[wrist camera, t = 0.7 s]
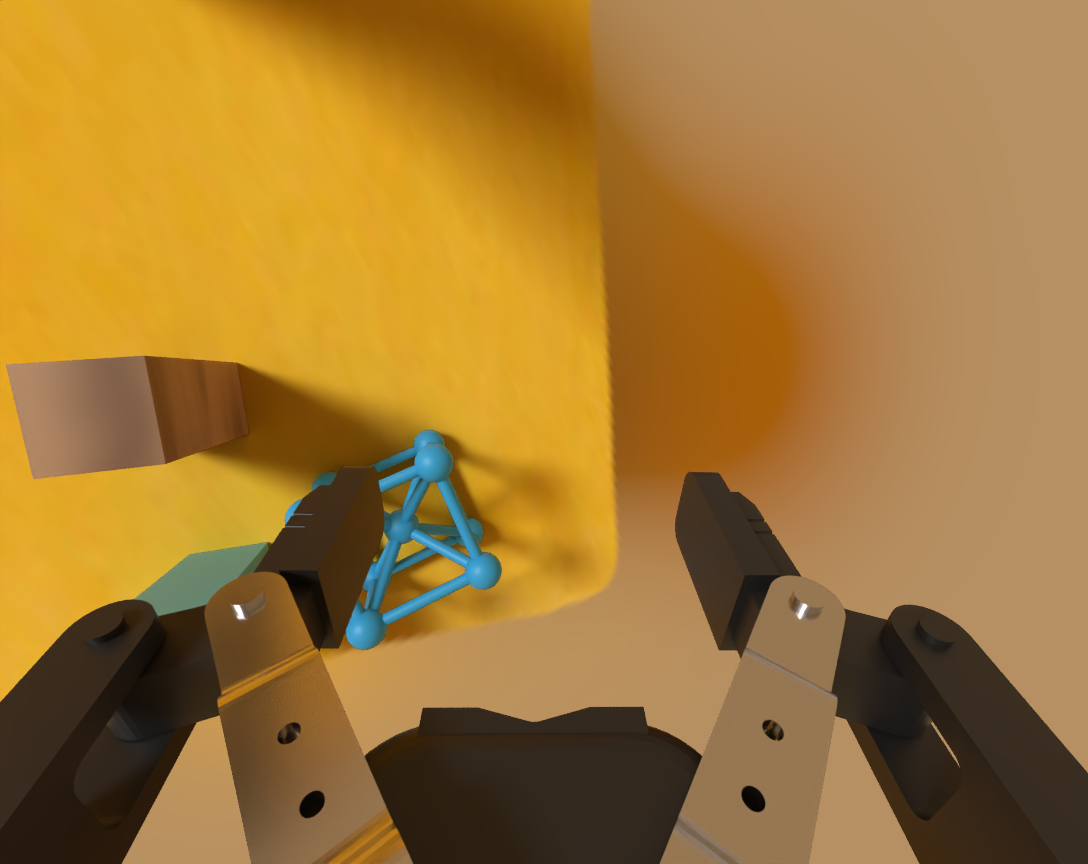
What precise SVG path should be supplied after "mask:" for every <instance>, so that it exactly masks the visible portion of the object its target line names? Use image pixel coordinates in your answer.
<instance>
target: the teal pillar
mask: <svg viewBox="0 0 1088 864" xmlns="http://www.w3.org/2000/svg"><path fill="white" fill-rule="evenodd" d="M268 550H269V545H268V542H266V543H259V544H253V545H247V546H240V547H234V548H228V549H221V550H215V551H209V552H202V553H196V554H190V555H188V556H187V557H186V558H185V559H183V560H182V561H181V562H180V563H178V564H177V565H176V566H175V567H173V568H172V569H171V570H170V571H168V572H167V573H166V574H165V575H164V576H162V577H161V578H160V579H159V580H157V581H156V582H155V583H154V584H152V585H151V586H150V587H149V588H147V589H146V590H145V591H144V592H142V593H141V594H140V595H139V596H138V597H136V598H135V599H134V600H143V601H146V602H148V603H150V604H151V605H152V606H153V608H154V610H155V611H156V613H157V615H158V616H161V615H165V614H169V613H174V612H178V611H182V610H186V609H191V608H195V607H199V606H203V605H206V604H207V603H208V601H209V600H210V599H211V597H212V596H213V595H214V594H215V593H216V592H217V591H218V590H219V589H220V588H222V587H223V586H224V585H226V584H227V583H229V582H231V581H232V580H234V579H237V578H239V577H241V576H244V575H247V574H251V573H253V572H254V571H255V569H256V568H257V566H258V565H259V563H260V562H261V560H262V559H263V557H264V556H265V554H266V553H267V551H268Z"/></svg>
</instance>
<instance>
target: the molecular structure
mask: <svg viewBox="0 0 1088 864" xmlns="http://www.w3.org/2000/svg"><path fill="white" fill-rule="evenodd" d="M415 456H416V457H415ZM413 457H415V461H414V464H415V465H413V466H411V467H409V468H407V469H404V470H402V471H400V472H397V473H395V474H393V475H391V476H388V477H386V478H384V479H381V480H379V485H380V491H381V493H382V492H385V491H387V490H389V489H391V488H394V487H396V486H398V485H401V484H403V483H405V482H407V481H410V480H412V482H411V485H410V487H409V490H408V493H407V496H406V499H405V502H404V505H403V508H402V510H396V511H394V512H392V513H391V514H389V513H387V512H385V511H384V533H385V535H386V537H387V538H388V539H389V541H388V543H387V545H386V547H385V549H384V551H383V553H382V555H381V557H380V559H379V561H378V562H372V564H371V567H370V570H369V572H368V575H367V577H366V580H365V582H364V585H363V587H362V588H363V589H364V590H365V591H367V592H368V593H367V598H366V603H365V608H363V606H362V605H361V603H360V601H359V599H358V600H357V603H356V605H355V608H354V611H353V613H352V617H351V619H350V621H349V623H348V626H347V628H346V637H347V639H348V642H349V643H350V644H351V645H352V646H353V647H355V648H356V649H360V650H368V649H371V648H374V647H375V646H377V645H378V644H379V643H380V642H381V641H382V640H383V638H384V636H385V635H386V630H387V625H389V624H391V623H393V622H395V621H397V620H399V619H401V618H403V617H405V616H407V615H409V614H411V613H413V612H415V611H417V610H419V609H421V608H423V607H425V606H427V605H429V604H431V603H433V602H435V601H437V600H439V599H441V598H443V597H445V596H447V595H449V594H451V593H453V592H455V591H457V590H459V589H461V588H463V587H465V586H467V585H469V584H470V585H471V586H472V587H474V588H476V589H480V590H486V589H489V588H491V587H493V586H495V584H496V583H497V582H498V581H499V579H500V577H501V572H502V569H501V564H500V561H499V560H498V558H497V557H496V556H494V555H493V554H491V553H488V552H482V551H481V548H480V546H479V543H480V542H481V541H482V538H483V535H484V529H483V526H482V524H481V523H480V522H479V521H478V520H476V519H474V518H467V515H466V513H465V511H464V509H463V506H462V504H461V502H460V500H459V498H458V495H457V493H456V491H455V489H454V486H453V484H452V482H451V480H450V478H449V475H450V473H451V472H452V470H453V466H454V459H453V456H452V454H451V452H450V451H449V450H448V449H447V448H446V447H445V441H444V438H443V437H442V435H441V434H440V433H438V432H436V431H434V430H425V431H422V432H421V433H419V434H418V435H417V436H416V438H415V440H414V447H412V448H409V449H407V450H405V451H402V452H400V453H398V454H395V455H393V456H391V457H388V458H386V459H384V460H381V461H379V462H377V463H374V464H372V465H370V466H374V467H375V468H376V470H377V473H378V472H381V471H383V470H385V469H387V468H390V467H392V466H394V465H397V464H399V463H401V462H404V461H406V460H408V459H411V458H413ZM336 475H337V473H335V472H326V473H323V474H321V475H319V476H318V477H317V478H316V479H315V481H314V482H313V486H312V491H313V490H314V489H316V488H317V487H318V486H320V485H331V483H332V482H333V480H334V478H335V477H336ZM431 482H436V483H437V485H438V487H439V489H440V491H441V494H442V496H443V498H444V500H445V502H446V504H447V507H448V509H449V511H450V513H451V515H452V518H453V520H454V522H455V524H456V527H455V526H445V525H435V524H425V523H419V521H418V519H417V517H416V516H415V512H416V510H417V508H418V506H419V504H420V502H421V500H422V499H423V497H424V495H425V493H426V491H427V489H428V487H429V485H430V483H431ZM301 501H302V499H301V500H298V501H297V502H295V503H294V504H293V505H291V506H290V507H289V509H288V511H287V513H286V516H285V525H286V523H287V522H288V520H289V519H290V517H291V516H293V514H294V511H295V510H296V508H297V507H298V505H299V504H300V502H301ZM428 534H432V535H445V536H450V537H448V538H446V539H444V540H442V541H439V540H438V539H436V538H434V537H432V536H430V535H428ZM411 540H415V541H417V542H419V543H421V544H423V545H425V546H426V547H427V548H425V549H423V550H421V551H419V552H417V553H415V554H412V555H410V556H408V557H406V558H404V559H402V560H400V561H398V562H396V559H397V556H398V553H399V550H400V547H401V544H405V543H408V542H410V541H411ZM457 543H459V544H460V545H461V546H463V547H466V548H467V550H468V552H469V555H470V557H469V556H468V555H466V554H464V553H462V552H460V551H458V550H456V549H454V548H453V547H451V546H453V545H455V544H457ZM436 553H439V554H441V555H443V556H445V557H447V558H448V559H450V560H452V561H454V562H456V563H458V564H459V565H461V566H463V567H465V574H463V575H461V576H459V577H457V578H455V579H453V580H451V581H449V582H447V583H445V584H442V585H440V586H438V587H436V588H434V589H432V590H430V591H428V592H426V593H424V594H422V595H420V596H418V597H416V598H414V599H412V600H410V601H408V602H406V603H404V604H402V605H400V606H398V607H396V608H394V609H392V610H390V611H388V612H386V613H384V614H382V613H381V612H379V610H380V607H381V604H382V601H383V598H384V595H385V592H386V589H387V587H388V586H389V584H390V582H391V578H392V575H393V574H395V573H397V572H399V571H401V570H403V569H405V568H407V567H409V566H411V565H413V564H416V563H418V562H420V561H422V560H424V559H426V558H428V557H430V556H432V555H434V554H436ZM395 562H396V563H395Z"/></svg>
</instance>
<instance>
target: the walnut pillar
mask: <svg viewBox="0 0 1088 864" xmlns="http://www.w3.org/2000/svg"><path fill="white" fill-rule="evenodd" d="M6 367H7V371H8V375H9V380H10V384H11V388H12V392H13V396H14V400H15V405H16V409H17V413H18V417H19V421H20V426H21V430H22V434H23V438H24V442H25V447H26V451H27V455H28V459H29V463H30V467H31V472H32V476H33V479H39V478H48V477H56V476H65V475H74V474H82V473H91V472H100V471H109V470H117V469H126V468H135V467H144V466H152V465H161V464H167V463H170V462H172V461H175V460H178V459H181V458H184V457H186V456H189V455H192V454H195V453H197V452H200V451H203V450H206V449H209V448H211V447H214V446H217V445H220V444H222V443H225V442H228V441H231V440H234V439H236V438H239V437H242V436H245V435H247V434H249V430H248V424H247V418H246V413H245V407H244V401H243V395H242V389H241V383H240V378H239V372H238V366H237V363H233V362H220V361H206V360H193V359H180V358H166V357H153V356H134V357H118V358H103V359H87V360H72V361H56V362H40V363H25V364H9V365H6Z"/></svg>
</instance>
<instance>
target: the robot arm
mask: <svg viewBox="0 0 1088 864" xmlns="http://www.w3.org/2000/svg"><path fill="white" fill-rule="evenodd" d="M383 531H384V509H383V503H382V497H381V491H380V485H379V479H378V474H377V470H376V468H375V467H374V466H342V467H341V469H340V470H339V472H338V473H337V475H336V477H335V478H334V480H333V482H332V483H331V485H320V486H318V487H317V488H316V489H314V490H313V491H312V492H310V493H309V494H308V495H306V496H305V497H304V498H303V499H302V501H301V502H300V504H299V505H298V507H297V508H296V510H295V511H294V514H293V516H291V517H290V519H289V520H288V522H287V523H286V525H285V528H283V529H282V530H281V532H280V533H279V535H278V536H277V538H276V539H275V541H274V542H273V544H272V545H271V547H270V548H269V550H268V551H267V553H266V554H265V556H264V557H263V559H262V560H261V562H260V563H259V565H258V566H257V568H256V569H255V571H254V572H253V573H251V574H247V575H244V576H241V577H239V578H237V579H234V580H232V581H231V582H229V583H227V584H226V585H224V586H223V587H222V588H220V589H219V590H218V591H217V592H216V593H215V594H214V595H213V596H212V597H211V599H210V600H209V601H208V603H207V604H206V605H203V606H199V607H195V608H191V609H186V610H182V611H178V612H174V613H169V614H165V615H161V616H158V615H157V613H156V611H155V610H154V608H153V606H152V605H151V604H150V603H148V602H146V601H143V600H134V599H132V600H123V601H118V602H115V603H111V604H108V605H106V606H103V607H100V608H98V609H96V610H94V611H92V612H90V613H89V614H87V615H85V616H83V617H82V618H80V619H79V620H78V621H76V622H75V623H74V624H72V625H71V626H70V627H69V628H68V629H67V630H66V631H65V632H64V633H63V634H62V635H61V636H60V637H59V638H58V639H57V640H56V641H55V643H54V644H53V645H52V646H51V647H50V648H49V649H48V650H47V651H46V652H45V654H44V655H43V656H42V657H41V658H40V659H39V660H38V661H37V662H36V663H35V665H34V666H33V667H32V668H31V669H30V670H29V671H28V672H27V673H26V674H25V676H24V677H23V678H22V679H21V680H20V681H19V682H18V683H17V684H16V685H15V687H14V688H13V689H12V690H11V691H10V692H9V693H8V694H7V695H6V696H5V698H4V699H3V700H2V701H1V702H0V864H122V862H123V860H124V858H125V856H126V854H127V853H128V851H129V849H130V847H131V845H132V843H133V841H134V839H135V838H136V836H137V834H138V832H139V830H140V828H141V826H142V824H143V822H144V821H145V818H146V817H147V815H148V813H149V811H150V809H151V807H152V805H153V804H154V802H155V800H156V798H157V796H158V794H159V792H160V790H161V789H162V786H163V785H164V783H165V781H166V779H167V777H168V775H169V773H170V772H171V770H172V768H173V766H174V764H175V762H176V760H177V758H178V756H179V755H180V753H181V751H182V748H183V747H184V745H185V743H186V741H187V739H188V738H189V736H190V734H191V732H192V730H193V728H194V726H195V724H196V723H197V722H199V721H202V720H206V719H209V718H212V717H216V716H219V715H220V718H221V723H222V728H223V732H224V737H225V742H226V747H227V751H228V756H229V761H230V765H231V770H232V775H233V780H234V784H235V789H236V794H237V798H238V803H239V808H240V812H241V817H242V822H243V827H244V831H245V836H246V841H247V845H248V850H249V855H250V859H251V864H809V859H810V853H811V848H812V842H813V836H814V831H815V825H816V820H817V814H818V809H819V803H820V798H821V792H822V786H823V781H824V775H825V770H826V764H827V759H828V753H829V747H830V742H831V737H832V731H833V725H834V720H835V716H837V717H840V718H844V719H847V721H848V723H849V725H850V727H851V729H852V731H853V733H854V735H855V737H856V739H857V741H858V743H859V745H860V747H861V749H862V751H863V753H864V755H865V757H866V759H867V761H868V763H869V765H870V767H871V769H872V771H873V773H874V775H875V777H876V779H877V781H878V782H879V784H880V786H881V788H882V790H883V792H884V794H885V796H886V798H887V800H888V802H889V804H890V806H891V808H892V810H893V812H894V814H895V816H896V818H897V820H898V822H899V824H900V826H901V828H902V830H903V832H904V834H905V835H906V838H907V840H908V842H909V844H910V846H911V848H912V850H913V852H914V854H915V856H916V857H917V860H918V861H919V863H920V864H1088V773H1087V772H1086V770H1085V769H1084V768H1083V767H1082V766H1081V765H1080V763H1079V762H1078V761H1077V760H1076V759H1075V758H1074V757H1073V755H1072V754H1071V753H1070V752H1069V751H1068V750H1067V748H1066V747H1065V746H1064V745H1063V744H1062V742H1061V741H1060V740H1059V739H1058V738H1057V737H1056V736H1055V734H1054V733H1053V732H1052V731H1051V730H1050V729H1049V727H1048V726H1047V725H1046V724H1045V723H1044V721H1043V720H1042V719H1041V718H1040V717H1039V715H1038V714H1037V713H1036V712H1035V711H1034V710H1033V708H1032V707H1031V706H1030V705H1029V704H1028V703H1027V702H1026V700H1025V699H1024V698H1023V697H1022V696H1021V694H1020V693H1019V692H1018V691H1017V690H1016V689H1015V687H1013V685H1012V684H1011V683H1010V682H1009V680H1008V679H1007V678H1006V677H1005V676H1004V675H1003V673H1002V672H1000V670H999V669H998V668H997V666H996V665H995V664H994V663H993V662H992V661H991V659H990V658H989V657H988V656H987V655H986V654H985V652H984V651H983V650H982V649H981V648H980V647H979V645H978V644H977V643H976V642H975V641H974V640H973V638H972V637H971V636H970V635H969V634H968V633H967V632H966V631H965V630H964V629H963V628H961V627H960V626H959V625H958V624H956V623H955V622H954V621H952V620H950V619H949V618H947V617H946V616H944V615H942V614H940V613H938V612H936V611H933V610H931V609H928V608H925V607H921V606H916V605H903V606H899V607H896V608H895V609H894V610H893V611H892V613H891V615H890V616H889V618H888V620H885V619H881V618H878V617H874V616H870V615H866V614H862V613H858V612H854V611H850V610H847V609H844V608H843V606H842V604H841V603H840V601H839V600H838V599H837V597H836V596H835V595H834V594H832V593H831V592H830V591H829V590H828V589H826V588H825V587H823V586H822V585H820V584H818V583H816V582H814V581H812V580H809V579H807V578H803V577H801V575H800V574H799V572H798V570H797V569H796V567H795V566H794V564H793V563H792V561H791V560H790V558H789V557H788V555H787V554H786V552H785V550H784V549H783V547H782V546H781V544H780V543H779V541H778V540H777V538H776V537H775V535H772V531H771V529H770V527H769V526H768V524H767V523H766V522H764V518H763V517H762V515H761V513H760V512H759V510H758V509H757V507H756V506H755V505H754V504H753V503H752V502H751V501H749V500H748V499H747V498H746V497H744V496H743V495H742V494H741V493H739V492H730V490H729V489H728V487H727V485H726V483H725V482H724V480H723V479H722V477H721V475H720V474H719V473H711V472H688V473H687V475H686V476H685V480H684V484H683V488H682V493H681V497H680V502H679V506H678V510H677V515H676V521H675V532H676V538H677V542H678V545H679V547H680V550H681V553H682V555H683V558H684V560H685V563H686V565H687V568H688V571H689V573H690V576H691V579H692V581H693V584H694V586H695V589H696V591H697V594H698V597H699V599H700V602H701V604H702V607H703V610H704V612H705V615H706V618H707V620H708V623H709V625H710V628H711V631H712V633H713V636H714V638H715V641H716V644H717V646H718V649H719V650H737V651H738V653H739V656H740V658H741V661H740V663H739V665H738V668H737V670H736V673H735V676H734V678H733V681H732V683H731V686H730V688H729V691H728V693H727V696H726V698H725V701H724V704H723V706H722V708H721V711H720V713H719V716H718V718H717V721H716V723H715V726H714V729H713V731H712V733H711V736H710V739H709V741H708V744H707V746H706V749H705V751H704V754H703V756H701V755H700V754H699V753H698V752H697V751H696V750H694V749H693V748H692V747H690V746H689V745H687V744H686V743H684V742H683V741H682V740H680V739H678V738H676V737H674V736H673V735H671V734H669V733H667V732H664V731H661V730H659V729H657V728H654V727H651V726H647V722H646V717H645V712H644V707H589V708H585V709H582V710H579V711H575V712H571V713H567V714H564V715H560V716H557V717H553V718H550V719H546V720H543V721H539V722H530V721H526V720H522V719H518V718H514V717H511V716H507V715H503V714H500V713H496V712H492V711H488V710H485V709H481V708H423V709H422V715H421V720H420V725H419V727H416V728H413V729H410V730H407V731H405V732H402V733H400V734H398V735H396V736H394V737H392V738H390V739H388V740H386V741H385V742H383V743H381V744H380V745H378V746H377V747H375V748H374V749H373V750H371V751H370V752H368V753H367V754H366V755H365V756H364V755H363V752H362V750H361V747H360V745H359V743H358V741H357V738H356V736H355V734H354V731H353V729H352V727H351V724H350V722H349V720H348V717H347V715H346V713H345V710H344V708H343V706H342V704H341V701H340V699H339V697H338V694H337V692H336V690H335V688H334V685H333V683H332V680H331V678H330V676H329V673H328V671H327V669H326V667H325V664H324V662H323V660H322V657H321V655H320V653H319V651H320V648H339V646H340V644H341V641H342V639H343V636H344V634H345V631H346V628H347V626H348V623H349V621H350V618H351V616H352V613H353V611H354V608H355V605H356V603H357V600H358V598H359V595H360V593H361V590H362V587H363V585H364V582H365V580H366V577H367V575H368V572H369V570H370V567H371V564H372V562H373V559H374V557H375V554H376V552H377V549H378V546H379V544H380V541H381V539H382V536H383ZM932 721H933V722H934V724H935V726H936V727H937V729H938V730H939V732H940V733H941V735H942V736H943V738H944V739H945V741H946V742H947V744H948V745H949V747H950V748H951V750H952V751H953V753H954V755H955V756H956V758H957V760H958V763H959V766H960V767H959V766H958V764H957V763H956V761H955V760H954V758H953V757H952V755H951V754H950V752H949V751H948V749H947V747H946V746H945V744H944V743H943V741H942V740H941V738H940V737H939V735H938V734H937V732H936V731H935V729H934V728H933V726H932V725H931V723H932Z"/></svg>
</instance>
